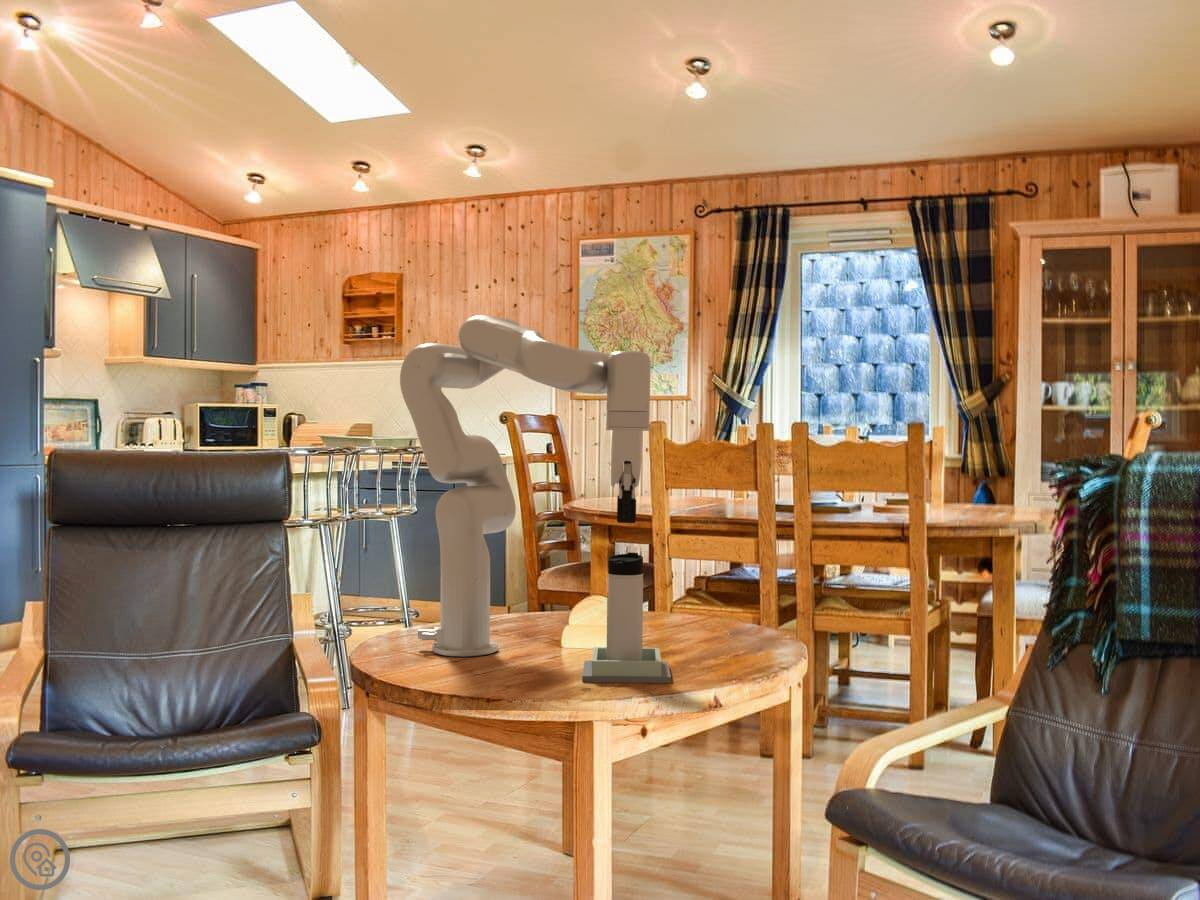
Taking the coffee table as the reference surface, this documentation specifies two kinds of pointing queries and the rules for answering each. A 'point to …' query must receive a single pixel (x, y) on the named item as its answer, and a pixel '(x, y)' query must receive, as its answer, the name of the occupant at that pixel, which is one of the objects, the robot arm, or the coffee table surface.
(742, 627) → the coffee table surface
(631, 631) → the travel mug
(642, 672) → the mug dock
